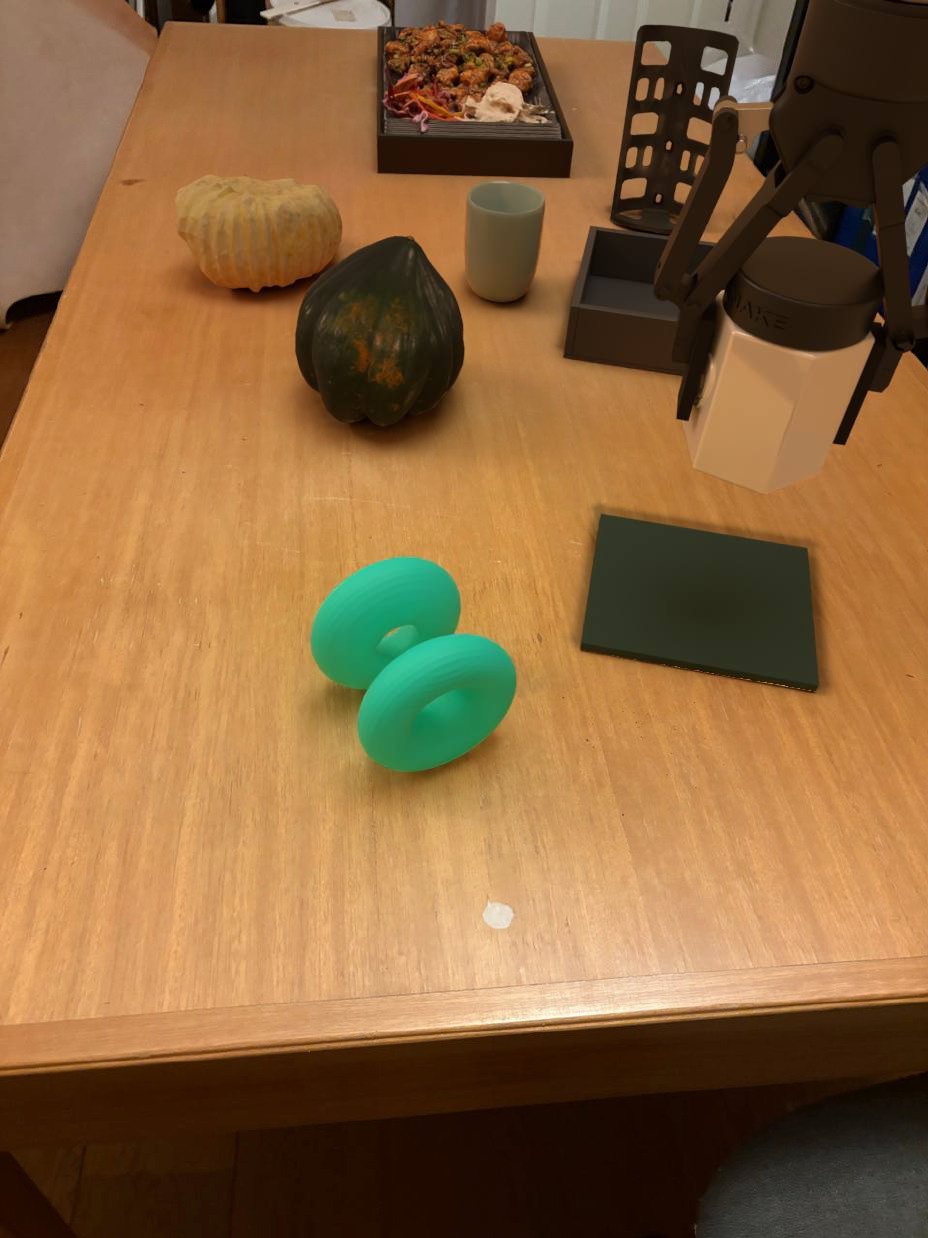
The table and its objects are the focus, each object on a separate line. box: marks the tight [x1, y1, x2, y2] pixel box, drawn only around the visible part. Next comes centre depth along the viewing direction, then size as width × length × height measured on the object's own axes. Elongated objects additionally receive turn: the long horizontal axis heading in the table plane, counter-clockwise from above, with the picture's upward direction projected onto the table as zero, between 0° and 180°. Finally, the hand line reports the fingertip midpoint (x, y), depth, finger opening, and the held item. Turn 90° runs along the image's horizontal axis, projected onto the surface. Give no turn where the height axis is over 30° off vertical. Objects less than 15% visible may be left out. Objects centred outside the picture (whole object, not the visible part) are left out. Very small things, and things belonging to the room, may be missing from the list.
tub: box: [562, 225, 725, 376], centre depth 93 cm, size 18×18×5 cm
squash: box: [294, 235, 466, 427], centre depth 79 cm, size 14×15×15 cm
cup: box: [463, 180, 546, 303], centre depth 94 cm, size 8×8×10 cm
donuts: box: [309, 556, 518, 773], centre depth 56 cm, size 10×10×10 cm
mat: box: [579, 513, 820, 692], centre depth 68 cm, size 16×14×1 cm
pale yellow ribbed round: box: [174, 173, 343, 293], centre depth 96 cm, size 17×11×15 cm
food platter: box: [376, 19, 575, 179], centre depth 130 cm, size 45×25×10 cm, turn 4°
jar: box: [682, 235, 885, 496], centre depth 54 cm, size 9×8×12 cm
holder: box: [609, 24, 740, 235], centre depth 105 cm, size 11×8×20 cm
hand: (759, 419), depth 56 cm, fingers closed on jar, 8 cm apart
